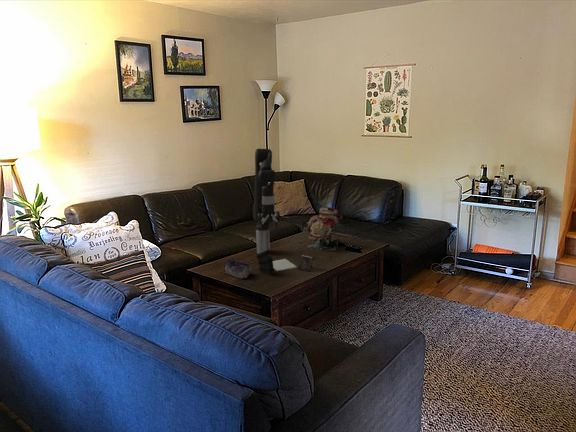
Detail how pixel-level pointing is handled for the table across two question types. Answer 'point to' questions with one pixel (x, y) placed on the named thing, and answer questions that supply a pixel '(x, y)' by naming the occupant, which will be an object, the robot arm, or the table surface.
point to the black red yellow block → (266, 262)
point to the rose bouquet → (324, 229)
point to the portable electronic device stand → (308, 262)
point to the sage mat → (283, 265)
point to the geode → (238, 269)
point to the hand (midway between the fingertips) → (269, 228)
